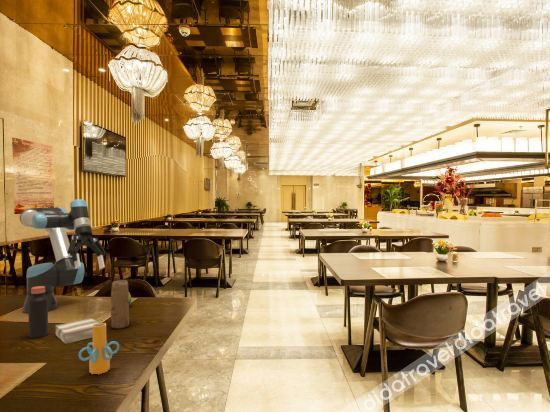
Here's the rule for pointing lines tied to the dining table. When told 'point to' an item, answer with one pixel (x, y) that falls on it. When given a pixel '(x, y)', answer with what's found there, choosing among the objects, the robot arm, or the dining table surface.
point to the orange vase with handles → (99, 350)
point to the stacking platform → (75, 330)
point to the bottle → (38, 313)
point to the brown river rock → (119, 304)
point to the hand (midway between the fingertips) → (90, 267)
